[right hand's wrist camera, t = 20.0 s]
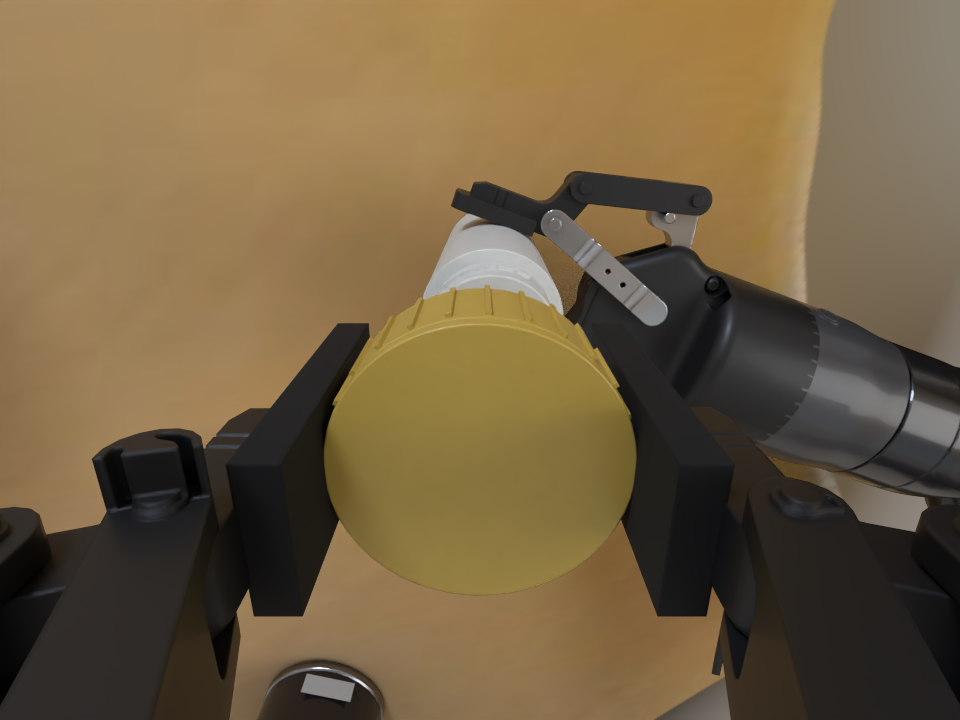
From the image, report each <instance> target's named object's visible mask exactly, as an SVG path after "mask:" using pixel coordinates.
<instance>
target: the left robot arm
mask: <svg viewBox="0 0 960 720" xmlns="http://www.w3.org/2000/svg"><path fill="white" fill-rule="evenodd" d="M588 204H595V205H604V206H613V207H621V208H630V209H639V210H647V211H646V219H647V222H648V223H649V224H650V225H651V226H653V227H655V228H657V229H660V230H662V231H663V233H664V234H665V239H666V241H665V243H663V244H659V245H656V246H652V247H649V248H645V249H642V250H638V251H634V252H631V253H627V254H624V255H620V256H617V257H613V256H612V255H611V254H610V253H608V252H607V251H606V250H605V249H604V248H603V247H602V246H601V245H600V244H598V243H597V242H596V241H595V240H594V239H593V238H592V237H591V236H589V235H588V234H587V233H586V232H585V231H584V230H583V229H582V228H581V227H580V226H578V225H577V224H576V223H575V222H574V220H575V219H576V217H577V216H578V215H579V214H580V213H581V212H582V211H583V209H584V208H585V207H586V206H587V205H588ZM711 204H712V194H711V192H710V191H709V190H708V189H707V188H706V187H703V186H697V185H692V184H686V183H679V182H670V181H661V180H652V179H644V178H635V177H626V176H618V175H609V174H600V173H592V172H583V171H574V172H571V173H570V174H568V175H567V176H566V178H565V180H564V183H563V184H562V186H561V187H560V188H559V189H558V190H557V192H556V193H555V194H554V195H553V196H552V197H551V198H549V199H547V200H543V201H537V200H534V199H531V198H528V197H526V196H523V195H521V194H518V193H515V192H513V191H510V190H507V189H505V188H502V187H499V186H497V185H494V184H491V183H489V182H474V183H473V186H472V189H471V192H469V191H466V190H463V189H459V188H458V189H457V190H456V192H455V195H454V198H453V201H452V205H451V206H452V207H454V208H456V209H458V210H461V211H463V212H466V213H469V214H471V215H474V216H477V217H480V218H482V219H485V220H488V221H490V222H493V223H496V224H499V225H501V226H504V227H507V228H510V229H513V230H515V231H517V232H520V233H523V234H526V235H528V236H531V237H532V235H533V232H535V233H538V234H541V235H543V236H546V237H548V238H549V239H550V240H552V241H553V242H554V243H555V244H556V245H557V246H558V247H559V248H561V249H562V250H563V251H564V252H565V253H566V254H567V255H569V256H570V257H571V258H572V259H573V260H574V261H575V262H576V263H577V264H578V265H579V266H580V267H581V268H583V269H584V270H585V272H584V274H583V276H582V279H581V281H580V283H579V286H578V293H577V299H576V303H575V304H574V305H573V307H572V308H571V309H570V311H569V312H568V313H567V314H566V316H565V317H566V318H567V319H568V320H569V321H570V322H571V323H572V324H573V325H574V326H575V325H576V324H577V323H578V324H579V325H580V326H581V328H582V329H583V331H584V333H585V335H586V337H587V338H588V340H589V342H590V340H591V327H592V323H622V324H623V325H624V326H625V327H626V329H627V330H628V331H629V332H630V334H631V335H632V336H633V337H634V339H635V340H636V341H637V342H638V344H639V345H640V346H641V347H642V349H643V350H644V351H645V352H646V354H647V355H648V356H649V357H650V359H651V360H652V361H653V362H654V364H655V365H656V366H657V367H658V369H659V370H660V371H661V372H662V374H663V375H664V376H665V377H666V379H667V380H668V381H669V382H670V384H671V385H672V386H673V387H674V389H675V390H676V391H677V393H678V394H679V395H680V396H681V398H682V399H683V400H684V401H685V403H686V404H687V405H688V406H689V407H712V408H714V409H716V410H717V411H719V412H721V413H723V414H725V415H726V416H728V417H730V418H732V419H733V420H734V421H735V423H736V424H737V425H738V426H739V427H740V428H741V429H742V430H743V431H744V435H747V436H748V437H749V438H750V439H751V440H752V441H753V442H754V443H755V447H758V448H759V449H760V450H761V451H762V452H763V453H764V454H765V455H767V456H770V457H773V458H776V459H779V460H783V461H786V462H791V463H795V464H801V465H807V466H812V467H817V468H820V469H824V470H827V471H830V472H833V473H836V474H839V475H841V476H844V477H847V478H850V479H853V480H856V481H859V482H862V483H865V484H868V485H871V486H874V487H877V488H881V489H884V490H888V491H891V492H895V493H900V494H905V495H911V496H919V497H925V501H926V504H927V506H928V508H929V507H930V506H936V505H946V504H948V505H956V506H960V368H958V367H954V366H952V365H950V364H948V363H945V362H943V361H940V360H938V359H935V358H933V357H930V356H927V355H925V354H922V353H919V352H917V351H914V350H911V349H908V348H906V347H903V346H900V345H898V344H895V343H892V342H890V341H887V340H885V339H883V338H880V337H878V336H876V335H875V334H873V333H871V332H869V331H867V330H866V329H864V328H862V327H861V326H859V325H857V324H855V323H853V322H851V321H849V320H846V319H844V318H842V317H839V316H837V315H834V314H833V313H831V312H829V311H827V310H825V309H820V308H816V307H813V306H810V305H808V304H805V303H802V302H800V301H797V300H794V299H791V298H789V297H786V296H784V295H781V294H778V293H776V292H773V291H770V290H768V289H765V288H763V287H760V286H757V285H755V284H752V283H749V282H747V281H744V280H741V279H739V278H736V277H733V276H731V275H728V274H725V273H723V272H720V271H718V270H715V269H712V268H710V267H708V266H706V265H705V264H704V263H703V262H702V261H701V259H700V258H699V256H698V255H697V254H696V253H695V252H694V251H693V250H691V247H692V243H693V239H694V235H695V230H696V226H697V222H698V218H699V215H702V214H704V213H705V212H706V211H708V209H709V208H710V206H711ZM383 715H384V701H383V698H382V695H381V693H380V691H379V689H378V688H377V686H376V685H375V684H374V683H373V682H372V681H371V680H370V679H369V678H368V677H367V676H365V675H364V674H362V673H361V672H359V671H357V670H355V669H353V668H351V667H348V666H346V665H342V664H339V663H334V662H327V661H310V662H304V663H300V664H296V665H293V666H291V667H289V668H287V669H285V670H284V671H282V672H281V673H279V674H278V675H277V676H276V677H275V678H274V679H273V681H272V682H271V684H270V686H269V688H268V691H267V693H266V696H265V698H264V703H263V707H262V709H261V711H260V714H259V716H258V719H257V720H383Z"/></svg>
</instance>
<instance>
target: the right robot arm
mask: <svg viewBox="0 0 960 720" xmlns="http://www.w3.org/2000/svg"><path fill="white" fill-rule="evenodd" d="M369 338H370V335H369V323H338V324H337V325H336V327H335V328H334V329H333V330H332V332H331V333H330V334H329V335H328V337H327V338H326V339H325V340H324V342H323V343H322V344H321V345H320V347H319V348H318V349H317V350H316V352H315V353H314V354H313V355H312V357H311V358H310V359H309V360H308V362H307V363H306V364H305V365H304V367H303V368H302V369H301V370H300V372H299V373H298V374H297V375H296V377H295V378H294V379H293V380H292V382H291V383H290V384H289V385H288V387H287V388H286V389H285V390H284V392H283V393H282V394H281V395H280V397H279V398H278V399H277V400H276V402H275V403H274V404H273V405H272V407H271V408H250V409H248V410H247V411H245V412H243V413H241V414H239V415H238V416H236V417H234V418H232V419H231V420H229V421H228V422H227V423H226V424H225V425H224V426H223V428H222V429H221V430H220V431H219V432H218V433H217V434H216V435H217V436H216V437H213V438H212V440H211V441H210V442H209V443H208V444H207V445H206V449H203V444H202V439H201V436H199V435H198V434H196V433H195V432H193V431H190V430H184V429H158V430H153V431H148V432H142V433H138V434H135V435H132V436H129V437H126V438H123V439H120V440H118V441H116V442H114V443H113V444H111V445H109V446H107V447H105V448H103V449H102V450H101V451H100V452H99V453H98V454H96V455H95V456H94V457H93V458H92V461H93V464H94V468H95V471H96V475H97V478H98V482H99V485H100V489H101V492H102V496H103V499H104V503H105V506H106V510H107V512H106V514H105V516H104V518H103V520H102V521H101V523H100V524H98V525H94V526H89V527H84V528H79V529H73V530H68V531H62V532H57V533H52V534H46V533H45V530H44V527H43V524H42V521H41V518H40V515H39V514H38V513H36V512H35V511H33V510H32V509H29V508H19V507H10V508H2V509H0V720H229V718H230V711H231V703H232V696H233V689H234V681H235V674H236V667H237V659H238V652H239V645H240V637H241V635H240V628H239V622H238V617H237V613H236V611H237V609H238V608H239V606H240V604H241V602H242V600H243V598H244V596H245V594H246V592H247V590H248V588H249V593H250V598H251V603H252V609H253V614H254V616H303V614H304V611H305V609H306V606H307V604H308V601H309V598H310V596H311V593H312V590H313V588H314V585H315V582H316V580H317V577H318V574H319V572H320V569H321V566H322V564H323V561H324V558H325V556H326V553H327V550H328V548H329V545H330V542H331V540H332V537H333V534H334V532H335V529H336V527H337V524H338V521H339V518H338V516H337V514H336V512H335V509H334V507H333V505H332V503H331V500H330V497H329V493H328V490H327V483H326V475H325V466H324V452H323V448H324V442H325V436H326V430H327V427H328V424H329V421H330V418H331V415H332V412H333V410H334V408H335V406H334V405H332V404H333V402H334V399H335V398H336V396H337V394H338V392H339V391H340V389H341V387H342V386H343V384H344V382H345V380H346V379H347V377H348V375H349V372H350V370H351V369H352V367H353V365H354V363H355V362H356V360H357V358H358V356H359V355H360V353H361V351H362V350H363V348H364V346H365V344H366V343H367V341H368V339H369ZM590 344H591V346H592V347H593V349H596V348H598V350H599V351H600V353H601V355H602V357H603V358H604V360H605V362H606V363H607V365H608V367H609V369H610V370H611V372H612V374H613V376H614V377H615V379H616V381H617V382H618V384H619V387H618V388H617V390H618V392H619V394H620V395H621V397H622V399H623V401H624V403H625V404H626V406H627V408H628V410H629V411H630V413H631V416H632V419H630V420H631V422H632V425H633V430H634V434H635V439H636V446H637V460H636V469H635V478H634V486H633V491H632V495H631V498H630V501H629V503H628V506H627V508H626V511H625V513H624V515H623V516H622V518H621V520H622V523H623V526H624V528H625V531H626V534H627V536H628V539H629V542H630V544H631V547H632V550H633V552H634V555H635V557H636V560H637V563H638V565H639V568H640V571H641V573H642V576H643V579H644V581H645V584H646V587H647V589H648V592H649V595H650V597H651V600H652V603H653V605H654V608H655V611H656V613H657V616H707V610H708V605H709V600H710V595H711V589H712V587H713V589H714V591H715V592H716V594H717V596H718V598H719V600H720V602H721V604H722V606H723V608H724V613H723V617H722V622H721V627H720V632H719V637H718V642H717V647H716V652H715V657H714V662H713V669H712V674H715V675H719V676H720V672H721V667H722V664H723V665H724V672H725V680H726V687H727V694H728V702H729V709H730V716H731V720H960V506H956V505H948V504H946V505H936V506H930V507H929V508H927V509H926V510H924V511H923V512H922V513H921V517H920V519H919V522H918V525H917V528H916V531H915V532H912V531H906V530H901V529H896V528H890V527H885V526H879V525H874V524H869V523H865V522H860V521H859V520H858V519H857V517H856V515H855V513H854V511H853V510H852V509H851V508H850V507H849V505H848V504H847V503H846V502H845V501H844V500H843V499H842V498H840V497H838V496H837V495H835V494H834V493H832V492H831V491H829V490H827V489H825V488H822V487H820V486H817V485H815V484H812V483H810V482H807V481H802V480H798V479H793V478H788V477H785V476H784V475H783V474H782V472H781V471H780V470H779V469H778V468H777V467H776V466H775V465H774V464H773V463H772V462H771V461H770V459H769V458H768V457H767V456H766V455H765V454H764V453H763V452H762V451H761V450H760V449H759V448H758V447H755V443H754V442H753V441H752V440H751V439H750V438H749V437H748V436H747V435H744V431H743V430H742V429H741V428H740V427H739V426H738V425H737V424H736V423H735V421H734V420H733V419H732V418H730V417H728V416H726V415H725V414H723V413H721V412H719V411H717V410H716V409H714V408H712V407H689V406H688V405H687V404H686V403H685V401H684V400H683V399H682V398H681V396H680V395H679V394H678V393H677V391H676V390H675V389H674V387H673V386H672V385H671V384H670V382H669V381H668V380H667V379H666V377H665V376H664V375H663V374H662V372H661V371H660V370H659V369H658V367H657V366H656V365H655V364H654V362H653V361H652V360H651V359H650V357H649V356H648V355H647V354H646V352H645V351H644V350H643V349H642V347H641V346H640V345H639V344H638V342H637V341H636V340H635V339H634V337H633V336H632V335H631V334H630V332H629V331H628V330H627V329H626V327H625V326H624V325H623V324H622V323H592V327H591V340H590Z"/></svg>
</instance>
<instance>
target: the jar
mask: <svg viewBox="0 0 960 720" xmlns="http://www.w3.org/2000/svg"><path fill="white" fill-rule="evenodd" d="M485 285H490V289H498V290H506V291H510V292H514V293H518V292H519V290H520V291H524V293H525V296H528V297H530V298H533V299H535V300H538V301H540V302H542V303H544V304H546V305H547V306H549V305H550V304H553V305H555V307H556V309H557V311H558V312H559V313H560V314H561V315H563V306H562V301H561V298H560V295H559V292H558V290H557V288H556V286H555V284H554V282H553V280H552V277H551V275H550V273H549V271H548V269H547V267H546V265H545V263H544V261H543V259H542V257H541V255H540V253H539V251H538V249H537V247H536V245H535V243H534V241H533V239H532V237H531V236H528V235H526V234H523V233H520V232H517V231H515V230H513V229H510V228H507V227H504V226H501V225H499V224H496V223H493V222H490V221H488V220H485V219H482V218H480V217H477V216H474V215H471V214H469V213H468V214H467V215H465V216H464V217H463V218H461V219H460V220H459V221H458V223H457V224H456V225H455V227H454V228H453V230H452V232H451V234H450V236H449V238H448V241H447V243H446V245H445V247H444V250H443V252H442V254H441V256H440V259H439V261H438V263H437V265H436V268H435V270H434V272H433V274H432V277H431V279H430V281H429V284H428V286H427V288H426V290H425V293H424V296H423V300H425V299H428V298H430V297H432V296H435V295H439V294H442V293H446V292H449V291H450V288H453V287H455V288H456V290H462V289H470V288H485ZM563 316H564V315H563Z"/></svg>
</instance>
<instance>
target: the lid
mask: <svg viewBox="0 0 960 720" xmlns="http://www.w3.org/2000/svg"><path fill="white" fill-rule="evenodd" d="M618 387H619V384H618V382H617V381H616V379H615V377H614V376H613V374H612V372H611V370H610V369H609V367H608V365H607V363H606V362H605V360H604V358H603V357H602V355H601V353H600V351H599V350H598V348H596V349H593V347H592V346H591V344H590V342H589V340H588V338H587V337H586V335H585V333H584V331H583V329H582V328H581V326H580V325H579V324H578V323H577V324H576V325H575V326H574V325H573V324H572V323H571V322H570V321H569V320H568V319H567V318H566V317H564V316H563V315H561V314H560V313H559V312H558V311H557V309H556V307H555V305H553V304H550V305H549V306H547V305H546V304H544V303H542V302H540V301H538V300H535V299H533V298H530V297H528V296H525V293H524V291H520V290H519V292H518V293H514V292H510V291H506V290H498V289H490V285H485V288H470V289H462V290H456V288H455V287H453V288H450V291H449V292H446V293H442V294H439V295H435V296H432V297H430V298H428V299H425V300H423V298H422V297H421V298H419V299H417V302H416V304H414V305H413V306H411V307H409V308H408V309H406V310H404V311H403V312H401V313H400V314H399V315H397V316H396V317H395V315H394V314H393V315H391V316H390V317H389V319H388V321H387V323H386V325H385V327H384V328H383V329H382V330H381V331H380V332H379V333H378V334H377V335H376V337H375V338H374V339H373V338H371V337H370V338H369V339H368V341H367V343H366V344H365V346H364V348H363V350H362V351H361V353H360V355H359V356H358V358H357V360H356V362H355V363H354V365H353V367H352V369H351V370H350V372H349V375H348V377H347V379H346V380H345V382H344V384H343V386H342V387H341V389H340V391H339V392H338V394H337V396H336V398H335V399H334V402H333V404H332V405H334V406H335V408H334V410H333V412H332V415H331V418H330V421H329V424H328V427H327V430H326V436H325V442H324V448H323V452H324V466H325V475H326V483H327V490H328V493H329V497H330V500H331V503H332V505H333V507H334V509H335V512H336V514H337V516H338V518H339V520H340V521H341V523H342V524H343V526H344V527H345V529H346V531H347V532H348V533H349V535H350V536H351V537H352V538H353V539H354V541H355V542H356V543H357V544H358V545H359V546H360V547H361V548H362V549H363V550H364V551H365V552H366V553H367V554H368V555H369V556H370V557H371V558H373V559H374V560H375V561H377V562H378V563H379V564H381V565H382V566H384V567H385V568H386V569H388V570H390V571H392V572H393V573H395V574H397V575H399V576H400V577H402V578H405V579H407V580H409V581H411V582H414V583H416V584H418V585H422V586H425V587H428V588H431V589H435V590H439V591H444V592H449V593H454V594H464V595H497V594H506V593H512V592H517V591H521V590H526V589H530V588H533V587H536V586H538V585H541V584H544V583H547V582H549V581H551V580H553V579H556V578H558V577H560V576H562V575H564V574H565V573H567V572H569V571H570V570H572V569H574V568H575V567H577V566H578V565H580V564H581V563H582V562H584V561H585V560H586V559H587V558H589V557H590V556H591V555H592V554H593V553H594V552H595V551H596V550H597V549H598V548H599V547H600V546H602V545H603V544H604V543H605V541H606V540H607V539H608V537H609V536H610V535H611V534H612V532H613V531H614V530H615V528H616V527H617V525H618V523H619V522H620V520H621V518H622V516H623V515H624V513H625V511H626V508H627V506H628V503H629V501H630V498H631V495H632V491H633V486H634V478H635V469H636V460H637V446H636V439H635V434H634V430H633V425H632V422H631V420H630V419H632V416H631V413H630V411H629V410H628V408H627V406H626V404H625V403H624V401H623V399H622V397H621V395H620V394H619V392H618V390H617V388H618Z"/></svg>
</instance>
